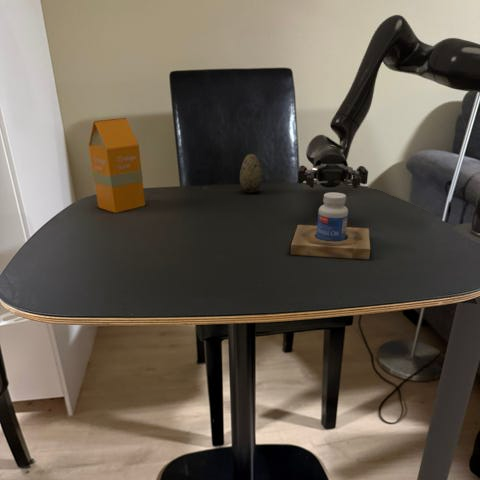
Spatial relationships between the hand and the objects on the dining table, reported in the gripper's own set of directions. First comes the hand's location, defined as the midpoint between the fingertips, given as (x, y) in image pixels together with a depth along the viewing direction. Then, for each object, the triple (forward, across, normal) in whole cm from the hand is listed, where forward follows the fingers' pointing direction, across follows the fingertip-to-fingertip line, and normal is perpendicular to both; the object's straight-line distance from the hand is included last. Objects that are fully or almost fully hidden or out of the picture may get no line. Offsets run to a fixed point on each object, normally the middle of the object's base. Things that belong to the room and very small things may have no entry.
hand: (333, 182), depth 95 cm
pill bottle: (+8, 0, -10) cm, 13 cm away
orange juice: (-16, +50, -10) cm, 54 cm away
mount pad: (+9, 0, -10) cm, 13 cm away
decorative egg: (-32, +20, -10) cm, 39 cm away
